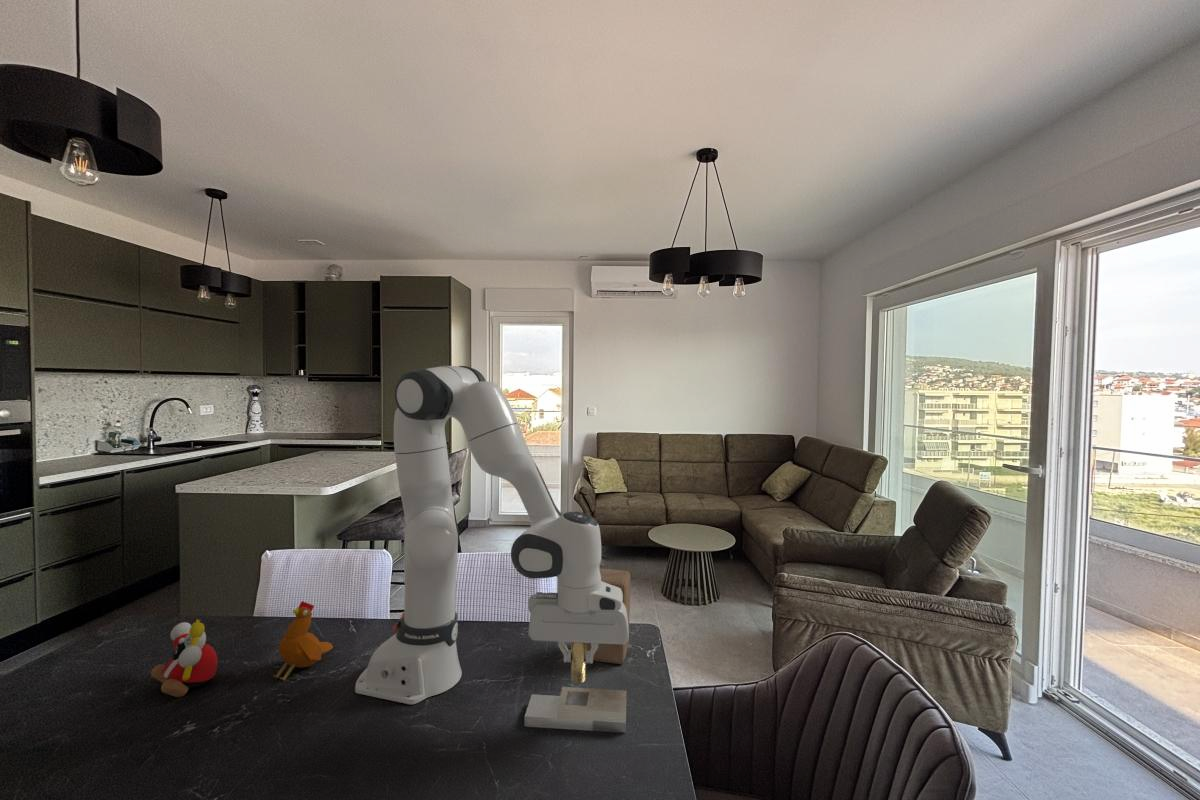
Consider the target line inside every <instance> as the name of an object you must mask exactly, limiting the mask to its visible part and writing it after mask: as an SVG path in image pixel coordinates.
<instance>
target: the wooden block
mask: <svg viewBox="0 0 1200 800" xmlns="http://www.w3.org/2000/svg"><path fill="white" fill-rule="evenodd" d="M599 571H600V575H601V581H602V582H605V583H608V584H610V585H613V586H616V587H619V588H620V589H621V590H622V594H623V603H624V605H625V607H626V611H627V617H628V631H629V632H630V617H631V616H630V615H631V613H630V610H631V608H630V607H631V573H630V571H628V570H624V569H623V570H620V569H613V568H601V567H599ZM629 644H630V637H629V638H628V641H627V642H626V643H625V644H602V643H599V644H598V649H597V650H596V652H595V654H594V655H593V662H599V663H600V662H603V663H610V664H615V665H616V664H617V665H622V664H624V662H625V660H626V656H627V652H628V648H629V646H630V645H629ZM591 648H592V647H591V643H586V651H590V650H591Z"/></svg>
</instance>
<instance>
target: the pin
mask: <svg viewBox="0 0 1200 800" xmlns="http://www.w3.org/2000/svg"><path fill="white" fill-rule="evenodd" d="M570 643H571V645H570V648H571V649H570V650H571V662H570V677H571V678H570V680H571V681H572V682H573V683H575V684H581V683H584V682H585V681H586V680H587V663H585V660H586V659H585V655H586V643H580V642H570Z"/></svg>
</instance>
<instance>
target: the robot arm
mask: <svg viewBox="0 0 1200 800" xmlns="http://www.w3.org/2000/svg"><path fill="white" fill-rule="evenodd" d="M394 400H395V404H396V406H397V408H396V410H395V412H394V419H393V446H394V447H393V448H394V455H395V464H396V472H397V473H396V474H397V481H398V489H399V493H400V498H401V503H402V509H403V515H404V521H405V522H404V523H405V531H404V532H405V534H404V538H403V539H404V540H403V564H404V565H403V569H404V571H403V572H404V574H403V575H404V579H403V580H404V602H403V603H404V604H403V605H404V607H403V608H404V610H403V612H402V614H401V617H399V618H398V619H397V621H396V623H395V625H393V626H392V629H393V630H392V633H395V632H396V633H395V634H393V635H392V636H390V637H389V638H388V639H387V640H385V641H384V642H382V643H381V645H380V646H378V647H377V648H376V649H375V651H374V652H373V654H371V655H372V656H371V658H370V659H369V662H368V665H367V667H366V668H365V669H364V670H363V672H362V673H361V674H360V675H359V677H358V678H357V680H356V682H355V686H354V692H355V693H356V694H358V695H365V696H369V697H373V698H378V699H383V700H388V701H392V702H397V703H403V704H405V705H415V704H418V703H420V702H422V701H423V700H425V699H427V698H431V697H432V696H436V695H439V694H442V693H444V692H447V691H448V690H450V689H452V688H453V687H455V685H457V683H458V682H459V681H460V679H462V674H463V671H462V668H461V665H460V661H459V655H458V648H457V637H458V630H459V629H458V627H459V623H458V613H457V611H456V600H457V599H456V590H457V589H456V588H457V570H458V569H457V568H458V554H459V553H458V549H459V547H458V546H459V535H458V529H457V524H456V517H455V510H454V509H455V508H454V498H453V490H452V477H451V471H450V461H449V455H448V454H449V453H448V445H447V440H446V439H447V438H446V430H445V429H446V424H447V421H448V420H449V419H450V418H453V419H455V420H456V421H458V423H459V424H460V426H461V428H462V430H463V432H464V437H465V439H466V441H467V444H468V447H469V449H470V451H471V452H470V453H471V455H472V456H473V459H474V460H475V462H476V464H477V465H478V467H479V468H480V469H481V470H482V472H485V473H486V474H488V475H490V476H494V477H498V478H500V479H504V480H505V481H507V482H508V483H510V484H511V485H512V486H513V487H514V488H515V490H516V491H517V494H518V496H519V498H520V500H521V502H522V505H523V506H524V508H525V510H526V513H527V514H528V517H529V520H530V527H528V528H527V529H526V530H525V531H523V532H522V533H521V534H520V535H519V536H517V538H516V539H515V540H514V541H513V543H512V545H511V549H510V559H511V563H512V564H513V568H515V569H516V571H517V572H518V573H519V574H520V575H521V576H523V577H524V578H528V579H550V578H555V577H556V578H557V589H556V590H557V592H541V591H538V592H535V593H534V594H532V595H530V597H529V598H528V603H527V604H528V605H527V606H528V607H527V608H528V611H529V613H530V616H529V617H530V618H529V623H528V637H529V638H530V639H531V640H532V641H539V642H557V643H558V644H557V645H558V648H559V650H560V651H561V653H562V654H563V663H571V649H568V647H567V643H571V642H580V643H591V647H592V648H591V650H590V651H586V655H585V659H586V660H585V663H586V664H593V663H594V661H593V655H594V654H595V652H596V650H597V649H598V644H599V643H602V644H625V643H626V642H627V641H628V638H629V639H630V630H629V631H628V617H627V611H626V607H625V605H624V603H623V594H622V590H621V589H620V588H619V587H616V586H613V585H610V584H608V583H605V582H602V581H601V575H600V571H599V568H600V565H601V561H602V538H601V529H600V525H599V522H598V520H597V519H596V518H595V517H593V516H592V515H590V514H587V513H586V512H585V513H584V512H581V511H566V512H564V513H561V511H560V510H559V508H558V507H557V506H556V503H555V502H554V499H553V498H552V495H551V493H550V491H549V488H548V487H547V485H546V482H545V480H544V478H543V476H542V473H541V472H540V469H539V467H538V465H537V463H536V462H535V460H534V458H533V456H532V454H531V452H530V449H529V447H528V444H527V441H526V440H525V438H524V437H525V436H524V435H523V432H522V429H521V427H520V424H519V422H518V420H517V417H516V415H515V412H514V410H513V407H512V406H511V404H510V402H509V400H508V398H507V397H506V395H505V394H504V392H503V390H502V388H501V387H500V386H499V385H498V384H497V383H495V382H492V381H487V380H486V378H485V377H484V375H483V374H482V373H481V372H480V371H479V370H477V369H476V368H474V367H471V366H466V365H458V366H457V365H439V366H436V367H434V366H433V367H428V368H418V369H413V370H411V371H407V372H406V373H404V374H403V375H401V376H400V377H399V379H398V380H397V381H396V384H395V386H394Z"/></svg>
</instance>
